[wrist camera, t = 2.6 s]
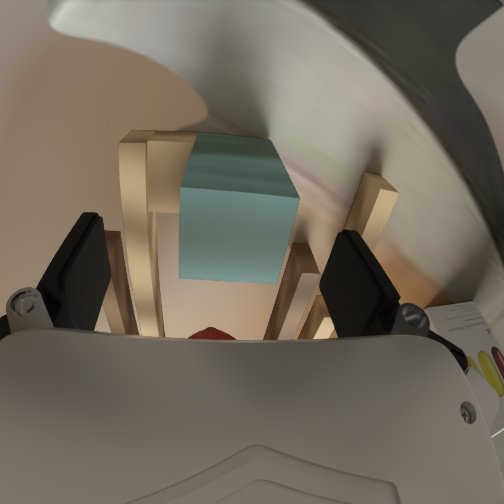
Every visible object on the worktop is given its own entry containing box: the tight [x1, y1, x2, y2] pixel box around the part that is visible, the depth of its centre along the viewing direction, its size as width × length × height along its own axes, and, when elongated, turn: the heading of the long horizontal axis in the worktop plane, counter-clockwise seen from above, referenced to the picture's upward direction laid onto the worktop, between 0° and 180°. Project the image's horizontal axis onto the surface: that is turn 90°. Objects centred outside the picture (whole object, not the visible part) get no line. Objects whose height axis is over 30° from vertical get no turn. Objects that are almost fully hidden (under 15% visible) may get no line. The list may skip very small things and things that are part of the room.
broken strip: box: [297, 172, 399, 340], centre depth 22 cm, size 21×1×2 cm, turn 171°
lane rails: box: [102, 230, 320, 340], centre depth 23 cm, size 16×14×3 cm
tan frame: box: [118, 130, 300, 337], centre depth 19 cm, size 22×10×7 cm, turn 171°
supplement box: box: [424, 301, 504, 437], centre depth 24 cm, size 10×9×17 cm
